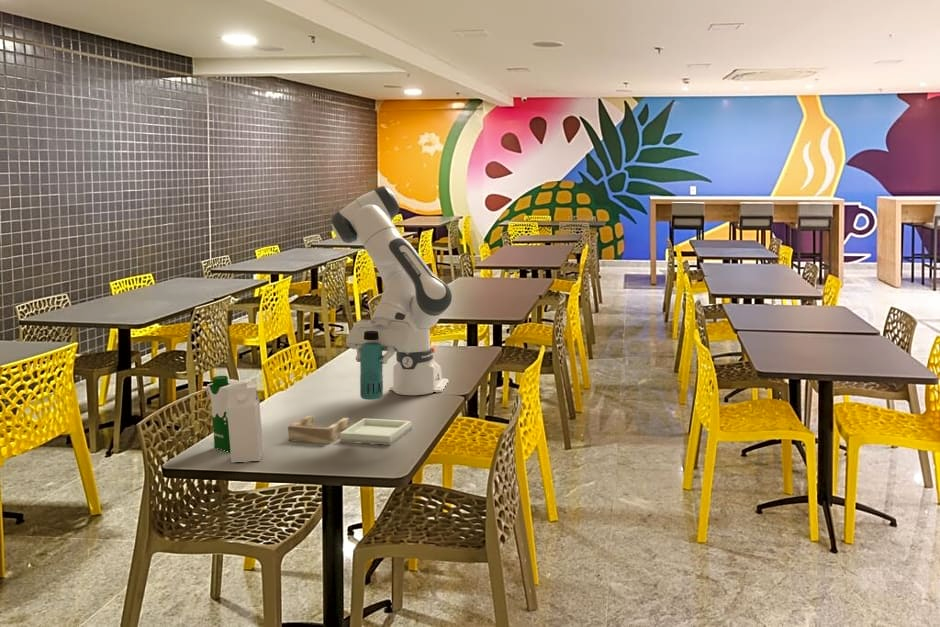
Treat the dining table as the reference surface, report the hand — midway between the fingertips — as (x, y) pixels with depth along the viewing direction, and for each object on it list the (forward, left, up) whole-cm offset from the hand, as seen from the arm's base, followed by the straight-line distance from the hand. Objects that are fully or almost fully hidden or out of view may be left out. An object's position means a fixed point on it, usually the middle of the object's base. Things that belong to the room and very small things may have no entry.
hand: (370, 361), depth 241 cm
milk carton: (+25, -25, -21) cm, 41 cm away
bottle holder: (+2, -16, -21) cm, 27 cm away
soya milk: (+17, -35, -21) cm, 44 cm away
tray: (-1, 0, -21) cm, 21 cm away
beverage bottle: (0, -1, -12) cm, 12 cm away
